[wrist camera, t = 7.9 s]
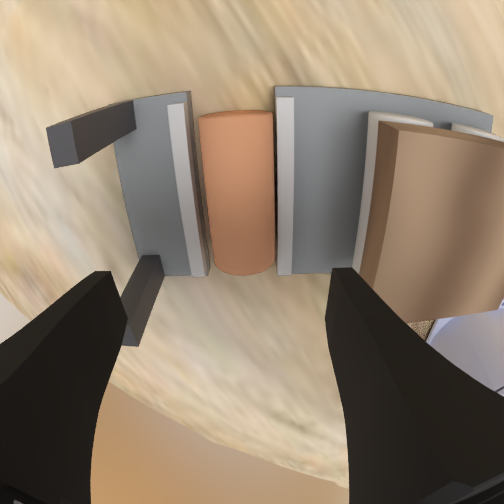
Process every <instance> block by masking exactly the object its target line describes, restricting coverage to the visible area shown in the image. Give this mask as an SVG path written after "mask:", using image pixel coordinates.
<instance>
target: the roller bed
mask: <svg viewBox="0 0 504 504" xmlns="http://www.w3.org/2000/svg"><path fill="white" fill-rule="evenodd" d="M274 96H275V139H276V267H277V274H278V276H285V275H291V274H308V273H332V268H343V267H352V268H353V269H354V270H355V271H356V272H357V273H358V274H359V272H360V266H361V261H362V255H363V250H364V244H365V238H366V231H367V225H368V218H369V211H370V204H371V196H372V188H373V179H374V170H375V160H376V149H377V136H378V121H379V120H380V121H389V122H398V123H406V124H414V125H421V126H428V127H434V128H440V129H446V130H452V131H457V132H462V133H467V134H472V135H477V136H481V137H486V138H490V139H494V140H498V141H502V142H504V139H503V138H502V137H500V136H498V135H496V134H493V133H491V131H492V123H493V115H490V114H487V113H484V112H481V111H477V110H473V109H469V108H465V107H461V106H457V105H453V104H448V103H444V102H439V101H434V100H429V99H424V98H418V97H412V96H406V95H400V94H393V93H386V92H378V91H369V90H359V89H348V88H334V87H315V86H274ZM46 131H47V136H48V141H49V146H50V151H51V156H52V161H53V165H54V168H59V167H64V166H69V165H74V164H79V163H81V162H82V161H84V160H85V159H87V158H88V157H90V156H92V155H93V154H95V153H96V152H98V151H100V150H101V149H103V148H105V147H106V146H108V145H110V144H111V143H114V149H115V155H116V161H117V166H118V171H119V176H120V181H121V186H122V191H123V196H124V200H125V205H126V209H127V214H128V218H129V222H130V226H131V230H132V234H133V238H134V242H135V246H136V250H137V254H138V257H139V262H138V264H137V266H136V268H135V270H134V272H133V274H132V276H131V278H130V280H129V281H128V283H127V285H126V287H125V289H124V291H123V293H122V295H121V297H120V299H121V301H122V304H123V307H124V309H125V312H126V314H127V317H128V320H127V325H126V329H125V334H124V338H123V342H122V345H123V346H135V347H139V344H140V341H141V338H142V335H143V333H144V330H145V327H146V324H147V321H148V319H149V316H150V313H151V311H152V308H153V305H154V303H155V300H156V297H157V295H158V292H159V289H160V287H161V284H162V282H163V279H164V277H165V276H192V277H205V276H208V273H209V268H210V263H209V256H208V248H207V241H206V233H205V225H204V217H203V209H202V201H201V192H200V184H199V175H198V165H197V156H196V146H195V136H194V125H193V114H192V102H191V91H186V92H177V93H170V94H163V95H156V96H150V97H144V98H138V99H133V100H127V101H122V102H117V103H113V104H110V105H108V106H105V107H102V108H99V109H96V110H93V111H90V112H87V113H84V114H81V115H78V116H76V117H73V118H70V119H68V120H65V121H62V122H60V123H57V124H55V125H52V126H50V127H47V128H46Z"/></svg>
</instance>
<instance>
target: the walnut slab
mask: <svg viewBox="0 0 504 504" xmlns="http://www.w3.org/2000/svg"><path fill="white" fill-rule="evenodd" d="M359 275H360V276H361V277H362V278H363V279H364V280H365V281H366V282H367V284H368V285H369V286H370V287H371V288H372V289H373V290H374V291H375V292H376V293H377V294H378V295H379V297H380V298H381V299H382V300H383V301H384V302H385V303H386V304H387V305H388V306H389V307H390V308H391V309H392V310H393V311H394V312H395V313H396V314H397V315H398V316H399V317H400V318H401V319H402V320H403V321H404V322H405V323H410V322H419V321H427V320H435V319H443V318H450V317H457V316H463V315H470V314H476V313H482V312H488V311H494V310H498V308H499V306H500V304H501V302H502V300H503V298H504V142H502V141H498V140H494V139H490V138H486V137H481V136H477V135H472V134H467V133H462V132H457V131H452V130H446V129H440V128H434V127H428V126H421V125H414V124H406V123H398V122H389V121H380V120H379V121H378V136H377V149H376V160H375V170H374V179H373V188H372V196H371V204H370V211H369V218H368V225H367V231H366V238H365V244H364V250H363V255H362V261H361V266H360V272H359Z"/></svg>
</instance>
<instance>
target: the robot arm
mask: <svg viewBox="0 0 504 504" xmlns="http://www.w3.org/2000/svg"><path fill="white" fill-rule="evenodd" d="M127 320H128V317H127V314H126V312H125V309H124V307H123V304H122V301H121V299H120V296H119V293H118V291H117V288H116V285H115V282H114V279H113V277H112V274H111V271H95V272H93V273H92V274H90V275H88V276H87V277H86V278H84V279H83V280H82V281H80V282H79V283H78V284H76V285H75V286H74V287H73V288H71V289H70V290H69V291H68V292H66V293H65V294H64V295H63V296H62V297H60V298H59V299H58V300H57V301H55V302H54V303H53V304H52V305H51V306H49V307H48V308H47V309H46V310H45V311H43V312H42V313H41V314H39V315H38V316H37V317H36V318H34V319H33V320H32V321H31V322H29V323H28V324H27V325H26V326H24V327H23V328H22V329H21V330H19V331H18V332H17V333H15V334H14V335H13V336H11V337H10V338H8V339H7V340H5V341H4V342H2V343H1V344H0V504H91V496H90V495H91V493H90V475H91V458H92V448H93V441H94V434H95V428H96V423H97V418H98V412H99V409H100V405H101V401H102V398H103V395H104V392H105V389H106V387H107V384H108V381H109V378H110V376H111V373H112V370H113V367H114V365H115V362H116V359H117V356H118V354H119V351H120V348H121V345H122V342H123V338H124V334H125V329H126V325H127ZM325 323H326V332H327V339H328V347H329V351H330V356H331V360H332V364H333V368H334V372H335V376H336V381H337V385H338V389H339V393H340V398H341V402H342V406H343V412H344V418H345V425H346V436H347V447H348V463H349V504H504V298H503V300H502V302H501V304H500V306H499V308H498V310H494V311H488V312H482V313H476V314H470V315H463V316H457V317H450V318H443V319H436V321H435V323H434V325H433V327H432V329H431V331H430V334H429V336H428V338H427V340H426V341H425V340H423V339H422V338H421V337H420V336H419V335H418V334H417V333H416V332H415V331H414V330H413V329H411V328H410V327H409V326H408V325H407V324H406V323H405V322H404V321H403V320H402V319H401V318H400V317H399V316H398V315H397V314H396V313H395V312H394V311H393V310H392V309H391V308H390V307H389V306H388V305H387V304H386V303H385V302H384V301H383V300H382V299H381V298H380V297H379V295H378V294H377V293H376V292H375V291H374V290H373V289H372V288H371V287H370V286H369V285H368V284H367V282H366V281H365V280H364V279H363V278H362V277H361V276H360V275H359V274H358V273H357V272H356V271H355V270H354V269H353V268H352V267H343V268H332V273H331V281H330V288H329V295H328V302H327V308H326V314H325Z"/></svg>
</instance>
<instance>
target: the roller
mask: <svg viewBox="0 0 504 504" xmlns="http://www.w3.org/2000/svg"><path fill="white" fill-rule="evenodd" d="M198 123H199V133H200V144H201V154H202V163H203V173H204V182H205V191H206V199H207V208H208V216H209V224H210V232H211V240H212V248H213V255H214V262H215V265H216V266H217V267H218V268H219V269H220V270H221V271H223V272H226V273H228V274H232V275H252V274H256V273H260V272H262V271H264V270H266V269H267V268H269V267H270V266H271V265H272V264H273V262H274V260H275V194H274V144H273V113H272V112H268V111H260V110H243V111H226V112H218V113H212V114H207V115H203V116H201V117H199V118H198Z"/></svg>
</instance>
